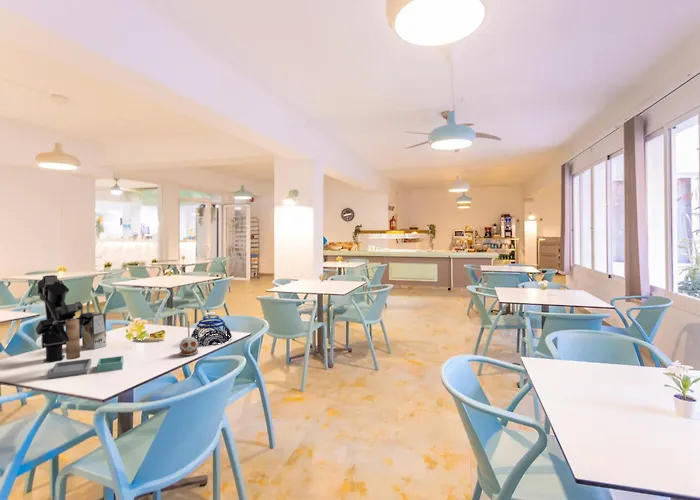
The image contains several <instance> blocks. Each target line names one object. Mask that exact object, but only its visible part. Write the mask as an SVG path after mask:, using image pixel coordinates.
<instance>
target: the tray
mask: <svg viewBox="0 0 700 500" xmlns="http://www.w3.org/2000/svg"><path fill="white" fill-rule="evenodd" d="M92 364H93V363H92V358H84V359H78V360H77V359H74V360H69V361H60V362H59V361H58V362H56V363H55V364H54V365H53V367H52V368H51V370H50V371H49V372H48V376H47V377H48V380H52V379H58V378H65V377H66V378H68V377H73V376H80V375H88V372H89V369H90V367H91V365H92Z"/></svg>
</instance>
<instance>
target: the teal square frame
mask: <svg viewBox="0 0 700 500" xmlns="http://www.w3.org/2000/svg"><path fill="white" fill-rule="evenodd" d="M123 367H124V355H120V356H119V355H118V356H112V357H111V356H110V357H104V358H103V357H102V358H99V359H98V361H97V364H96V373H103V372H109V371H117V370H118V371H119V370H122V369H123Z"/></svg>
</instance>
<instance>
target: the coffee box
mask: <svg viewBox="0 0 700 500" xmlns="http://www.w3.org/2000/svg"><path fill="white" fill-rule="evenodd" d="M91 313H92V314H93V315H94V318H93V319H92V321H91V322H90V324H88V325H85V326H82V338H81V340H82V341H81V342H82V348H84V349H86V348H87V349H91V350H96V349H100V348H103V347H107V325H106V324H107V323H106V322H107V321H106V320H107V319H106V313H102V312H93V311H92V312H91Z"/></svg>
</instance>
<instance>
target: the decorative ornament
mask: <svg viewBox="0 0 700 500" xmlns="http://www.w3.org/2000/svg"><path fill="white" fill-rule="evenodd" d="M190 333H191V332H190V321H187V336H186V337H184V338H183V339H182V340H181V341H180V343H179V355H180V356H185V355H186V356H187V357H188V355H189V356H193V355H196V354H198V353H199V350H198V348H199V346H198V342H197V339H195V338H194V337H193V338H192V337H191V335H190Z"/></svg>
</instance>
